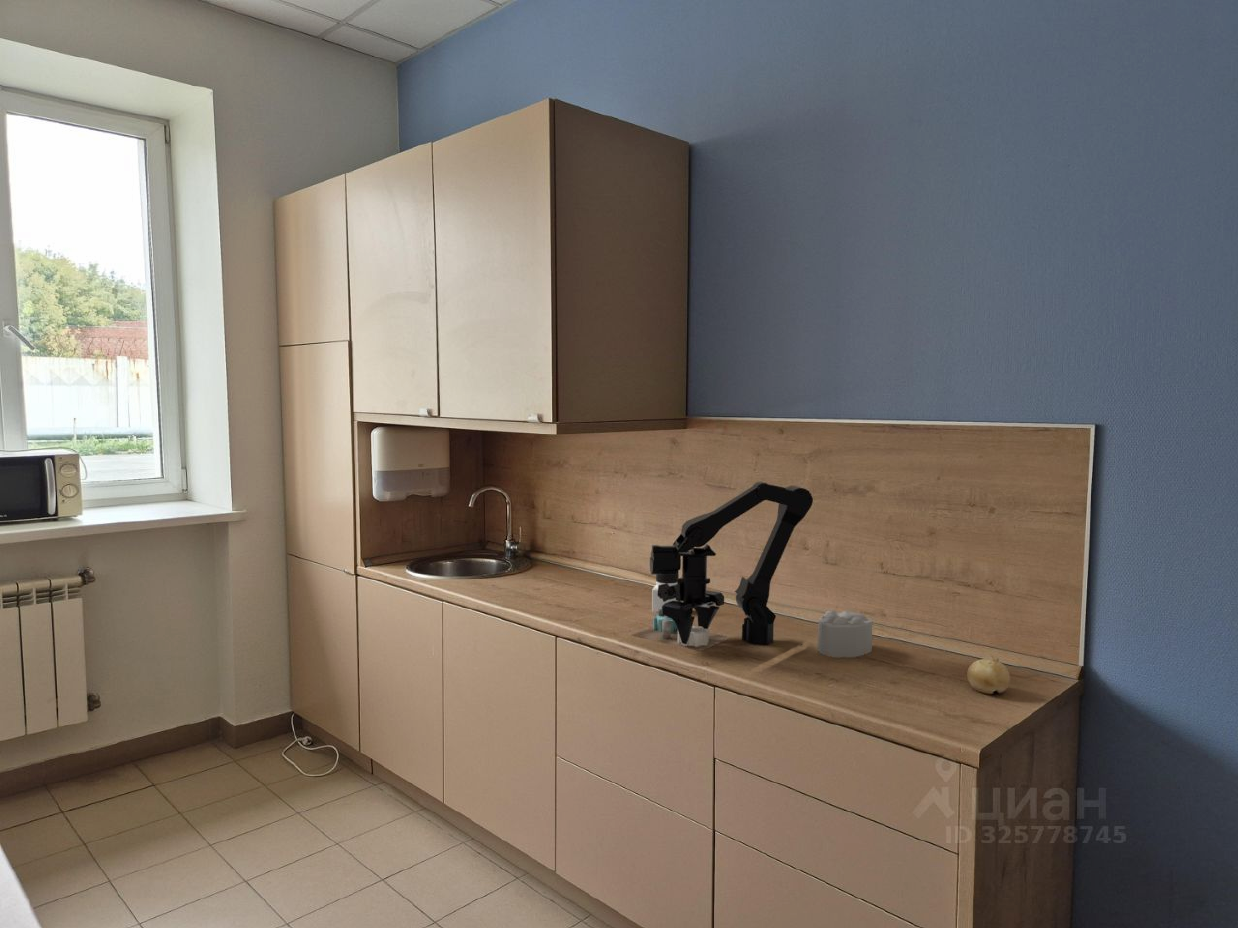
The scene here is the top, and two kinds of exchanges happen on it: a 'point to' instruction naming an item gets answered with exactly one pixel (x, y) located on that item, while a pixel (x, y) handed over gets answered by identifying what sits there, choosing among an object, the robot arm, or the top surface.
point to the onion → (988, 676)
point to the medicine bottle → (660, 580)
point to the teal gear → (658, 623)
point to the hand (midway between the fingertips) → (693, 640)
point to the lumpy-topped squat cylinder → (844, 634)
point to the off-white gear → (696, 637)
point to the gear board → (676, 636)
